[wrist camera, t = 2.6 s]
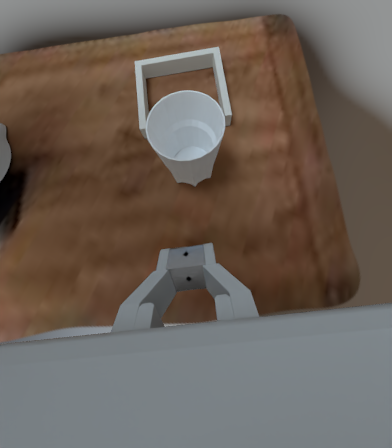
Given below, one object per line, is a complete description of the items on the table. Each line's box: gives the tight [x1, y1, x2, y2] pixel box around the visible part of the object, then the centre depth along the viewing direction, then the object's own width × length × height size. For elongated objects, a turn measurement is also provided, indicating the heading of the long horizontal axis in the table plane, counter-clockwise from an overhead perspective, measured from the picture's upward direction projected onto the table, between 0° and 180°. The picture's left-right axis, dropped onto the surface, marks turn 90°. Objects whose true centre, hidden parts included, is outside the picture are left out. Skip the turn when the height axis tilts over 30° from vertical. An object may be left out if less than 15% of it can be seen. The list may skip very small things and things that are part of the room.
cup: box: [146, 90, 225, 187], centre depth 26 cm, size 10×10×10 cm
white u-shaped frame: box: [135, 47, 232, 139], centre depth 33 cm, size 15×16×2 cm
